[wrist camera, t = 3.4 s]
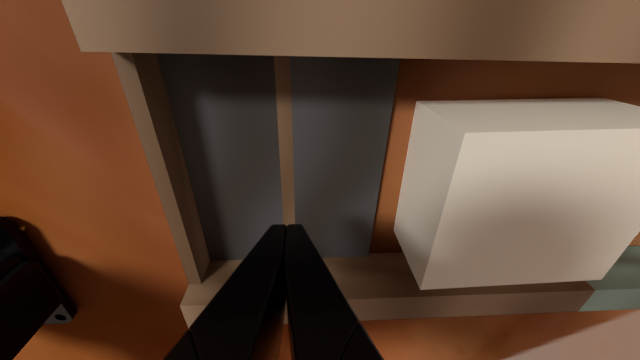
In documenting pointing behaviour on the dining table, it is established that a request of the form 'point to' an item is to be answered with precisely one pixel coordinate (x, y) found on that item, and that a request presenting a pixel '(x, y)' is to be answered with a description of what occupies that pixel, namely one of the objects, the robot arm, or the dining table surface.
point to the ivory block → (519, 190)
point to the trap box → (325, 127)
